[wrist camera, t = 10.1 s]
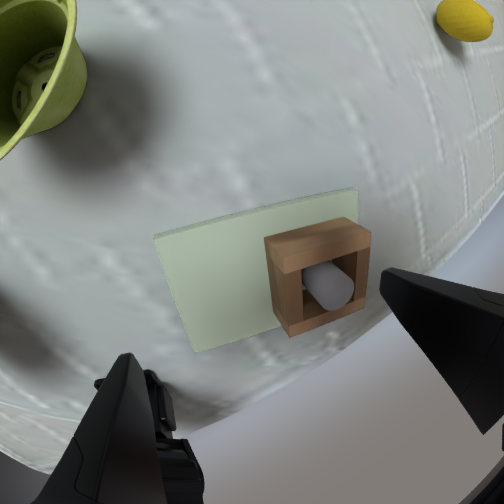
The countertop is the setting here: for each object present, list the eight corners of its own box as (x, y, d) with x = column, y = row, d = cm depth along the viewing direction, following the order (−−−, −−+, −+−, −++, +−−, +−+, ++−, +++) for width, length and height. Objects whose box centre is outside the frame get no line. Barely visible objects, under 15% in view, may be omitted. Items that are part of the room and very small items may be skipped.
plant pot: (-5, 59, 8) (-72, 40, 1) (109, 7, 10) (83, -60, 3) (6, 172, 13) (-69, 208, 5) (120, 127, 15) (83, 124, 7)
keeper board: (193, 347, 23) (204, 392, 19) (153, 235, 18) (152, 271, 14) (349, 294, 27) (381, 324, 22) (352, 187, 22) (396, 205, 17)
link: (273, 311, 23) (289, 337, 20) (263, 237, 20) (282, 258, 17) (342, 287, 25) (364, 307, 22) (343, 216, 22) (371, 231, 19)
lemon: (451, 24, 17) (502, 22, 10) (447, 52, 18) (503, 53, 11) (424, -7, 14) (478, -15, 8) (419, 20, 16) (480, 13, 9)
